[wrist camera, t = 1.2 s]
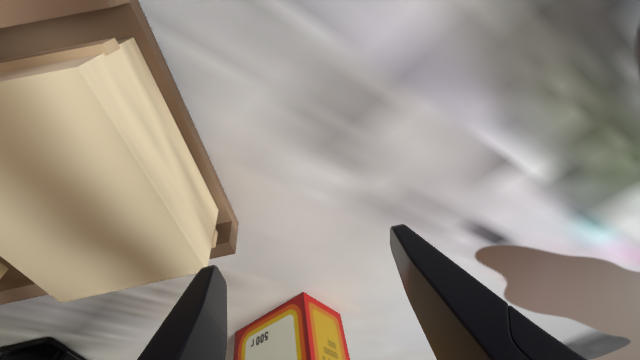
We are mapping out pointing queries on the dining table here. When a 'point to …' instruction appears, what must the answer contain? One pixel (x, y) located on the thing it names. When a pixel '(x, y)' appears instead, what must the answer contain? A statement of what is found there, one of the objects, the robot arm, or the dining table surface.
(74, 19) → the crate bay
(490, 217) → the dining table surface
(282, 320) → the baking soda box
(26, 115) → the cream slab
